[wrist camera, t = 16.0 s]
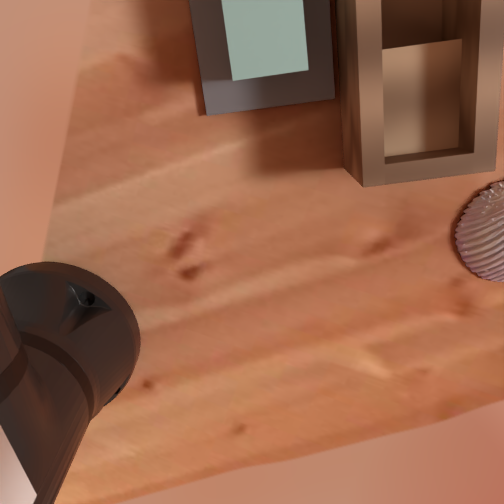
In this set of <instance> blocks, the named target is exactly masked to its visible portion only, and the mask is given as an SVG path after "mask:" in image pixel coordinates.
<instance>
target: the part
mask: <svg viewBox="0 0 504 504" xmlns="http://www.w3.org/2000/svg"><path fill="white" fill-rule="evenodd" d="M221 1H222V8H223V15H224V22H225V29H226V36H227V43H228V50H229V57H230V64H231V71H232V79H233V81H236V80H243V79H249V78H256V77H263V76H270V75H277V74H284V73H291V72H298V71H305V70H309V69H308V57H307V45H306V34H305V22H304V10H303V0H221Z"/></svg>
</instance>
